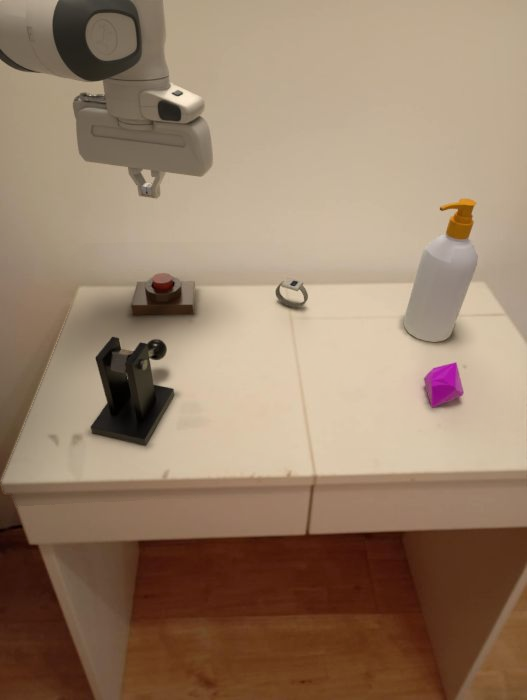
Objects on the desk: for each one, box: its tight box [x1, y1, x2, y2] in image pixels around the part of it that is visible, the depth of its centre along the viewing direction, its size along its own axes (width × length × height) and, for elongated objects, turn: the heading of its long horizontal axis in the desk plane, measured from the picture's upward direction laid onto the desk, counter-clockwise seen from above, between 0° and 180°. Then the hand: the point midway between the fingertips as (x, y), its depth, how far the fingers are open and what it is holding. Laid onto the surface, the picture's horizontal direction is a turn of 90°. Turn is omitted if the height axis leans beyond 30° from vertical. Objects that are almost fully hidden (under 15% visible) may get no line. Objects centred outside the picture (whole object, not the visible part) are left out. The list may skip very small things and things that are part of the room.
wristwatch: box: [275, 277, 309, 309], centre depth 88 cm, size 6×3×5 cm, turn 64°
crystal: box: [423, 361, 465, 408], centre depth 71 cm, size 5×5×5 cm
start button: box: [151, 272, 173, 291], centre depth 86 cm, size 4×4×2 cm
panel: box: [130, 275, 197, 316], centre depth 88 cm, size 11×8×4 cm
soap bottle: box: [403, 198, 479, 343], centre depth 78 cm, size 9×9×24 cm
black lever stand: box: [90, 336, 175, 446], centre depth 64 cm, size 10×8×12 cm
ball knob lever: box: [110, 338, 168, 373], centre depth 66 cm, size 13×3×3 cm
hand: (149, 196), depth 74 cm, fingers closed
